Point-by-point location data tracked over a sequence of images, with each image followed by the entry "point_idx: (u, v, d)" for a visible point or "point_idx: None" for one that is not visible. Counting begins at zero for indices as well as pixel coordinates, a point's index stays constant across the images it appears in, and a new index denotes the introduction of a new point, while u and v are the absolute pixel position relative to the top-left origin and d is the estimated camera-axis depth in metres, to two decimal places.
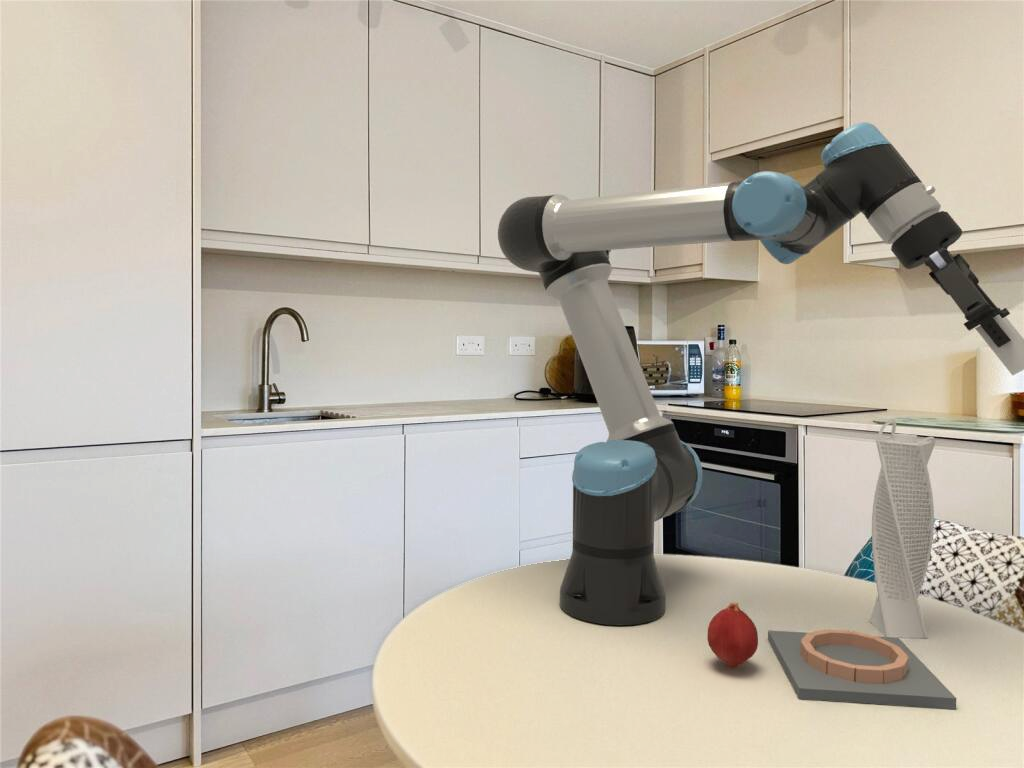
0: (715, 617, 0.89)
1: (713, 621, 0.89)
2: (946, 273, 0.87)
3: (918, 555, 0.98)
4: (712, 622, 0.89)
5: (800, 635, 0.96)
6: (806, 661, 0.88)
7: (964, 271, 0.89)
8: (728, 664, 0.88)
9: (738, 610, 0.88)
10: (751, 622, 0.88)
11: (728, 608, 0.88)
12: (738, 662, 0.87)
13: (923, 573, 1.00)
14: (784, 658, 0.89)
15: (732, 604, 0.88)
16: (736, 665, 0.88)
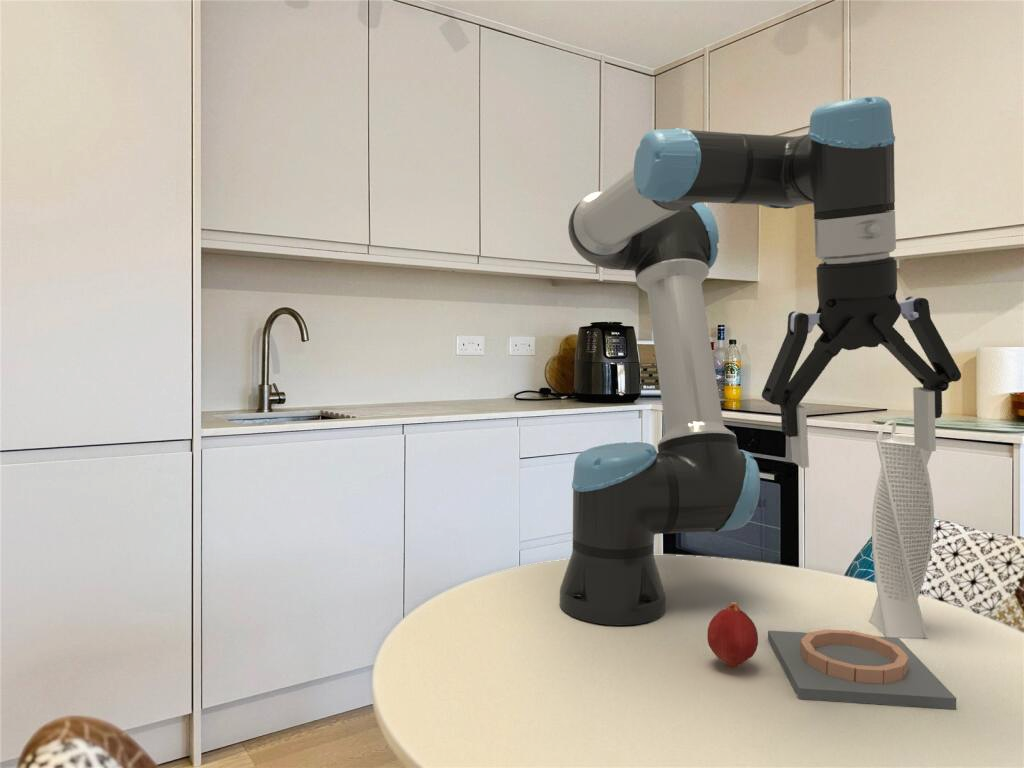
0: (715, 617, 0.89)
1: (713, 621, 0.89)
2: (787, 341, 0.79)
3: (918, 555, 0.98)
4: (712, 622, 0.89)
5: (800, 635, 0.96)
6: (806, 661, 0.88)
7: (829, 343, 0.77)
8: (728, 664, 0.88)
9: (738, 610, 0.88)
10: (751, 622, 0.88)
11: (728, 608, 0.88)
12: (738, 662, 0.87)
13: (923, 573, 1.00)
14: (784, 658, 0.89)
15: (732, 604, 0.88)
16: (736, 665, 0.88)
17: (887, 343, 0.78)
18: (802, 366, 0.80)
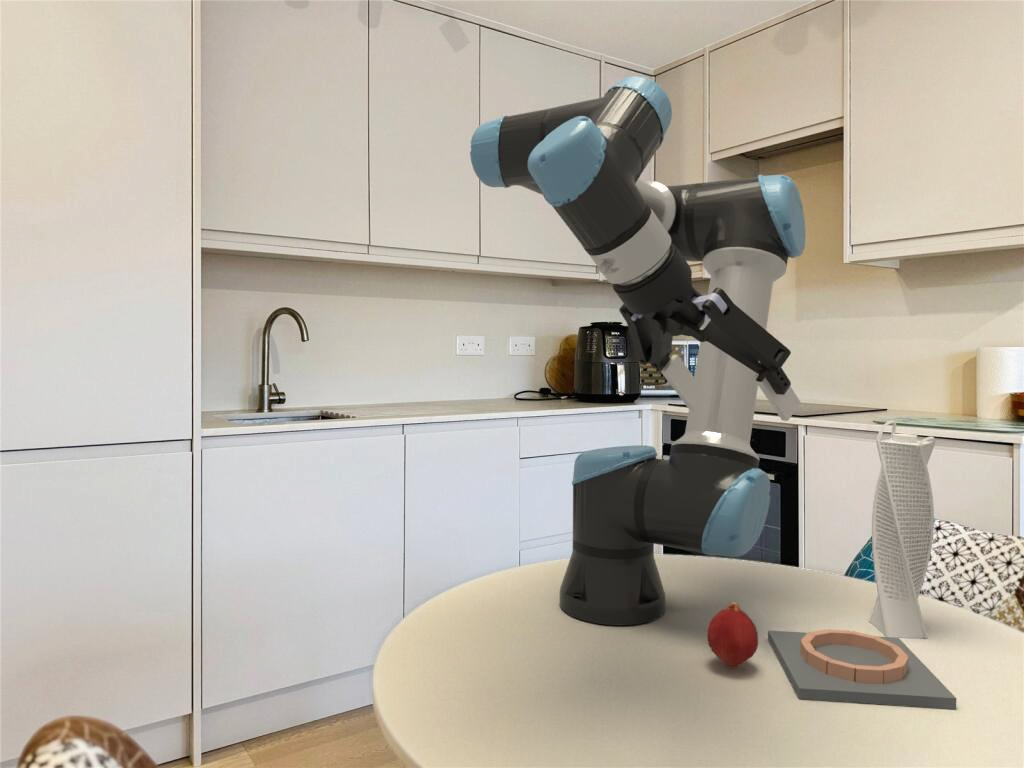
0: (715, 617, 0.89)
1: (713, 621, 0.89)
2: None
3: (918, 555, 0.98)
4: (712, 622, 0.89)
5: (800, 635, 0.96)
6: (806, 661, 0.88)
7: None
8: (728, 664, 0.88)
9: (738, 610, 0.88)
10: (751, 622, 0.88)
11: (728, 608, 0.88)
12: (738, 662, 0.87)
13: (923, 573, 1.00)
14: (784, 658, 0.89)
15: (732, 604, 0.88)
16: (736, 665, 0.88)
17: None
18: None
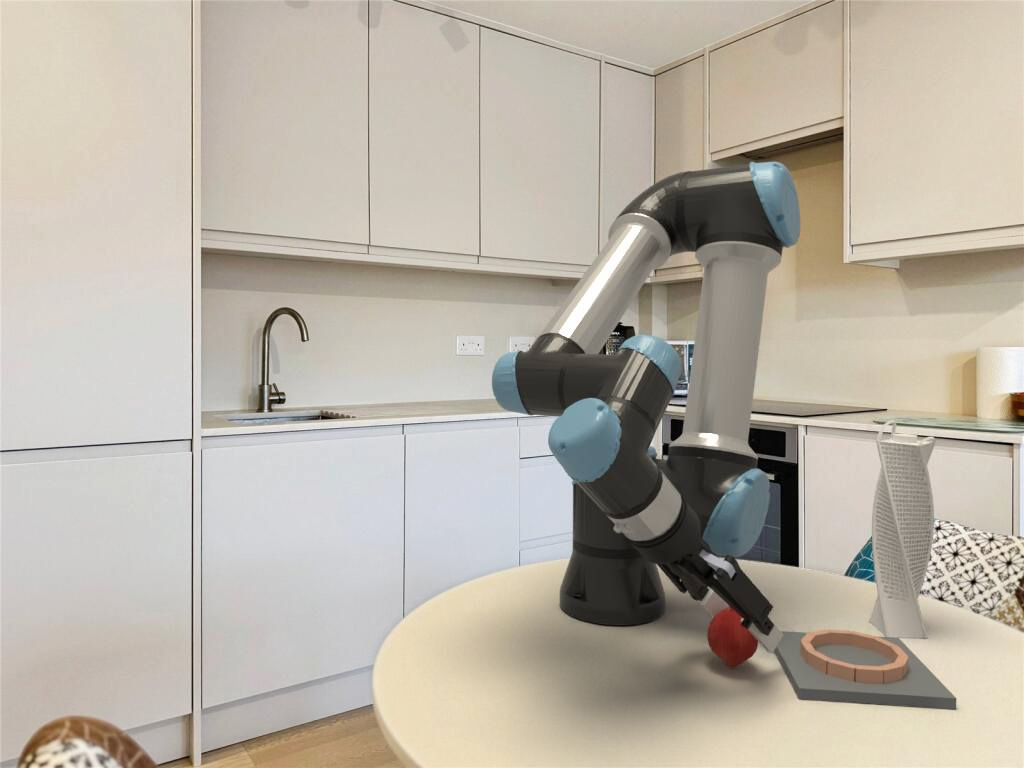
0: (715, 617, 0.89)
1: (713, 621, 0.89)
2: None
3: (918, 555, 0.98)
4: (712, 622, 0.89)
5: (800, 635, 0.96)
6: (806, 661, 0.88)
7: None
8: (728, 664, 0.88)
9: None
10: None
11: (728, 608, 0.88)
12: (738, 662, 0.87)
13: (923, 573, 1.00)
14: (784, 658, 0.89)
15: None
16: (736, 665, 0.88)
17: (706, 574, 0.84)
18: None
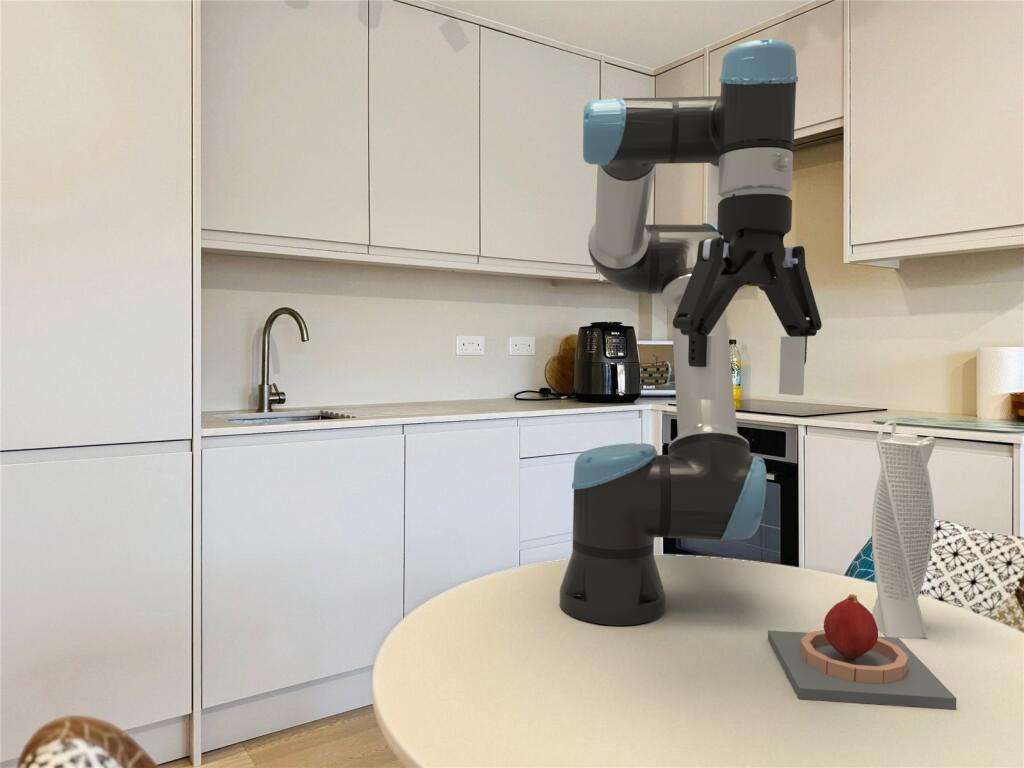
0: (833, 609, 0.88)
1: (831, 613, 0.88)
2: (701, 267, 0.76)
3: (918, 555, 0.98)
4: (830, 614, 0.88)
5: (800, 635, 0.96)
6: (806, 661, 0.88)
7: (737, 273, 0.77)
8: (847, 657, 0.88)
9: (857, 602, 0.87)
10: (870, 614, 0.87)
11: (846, 600, 0.88)
12: (858, 654, 0.87)
13: (923, 573, 1.00)
14: (784, 658, 0.89)
15: (851, 596, 0.87)
16: (855, 658, 0.87)
17: (773, 285, 0.81)
18: (707, 297, 0.78)
